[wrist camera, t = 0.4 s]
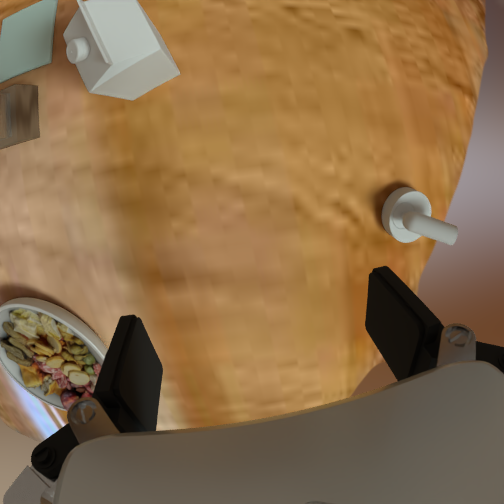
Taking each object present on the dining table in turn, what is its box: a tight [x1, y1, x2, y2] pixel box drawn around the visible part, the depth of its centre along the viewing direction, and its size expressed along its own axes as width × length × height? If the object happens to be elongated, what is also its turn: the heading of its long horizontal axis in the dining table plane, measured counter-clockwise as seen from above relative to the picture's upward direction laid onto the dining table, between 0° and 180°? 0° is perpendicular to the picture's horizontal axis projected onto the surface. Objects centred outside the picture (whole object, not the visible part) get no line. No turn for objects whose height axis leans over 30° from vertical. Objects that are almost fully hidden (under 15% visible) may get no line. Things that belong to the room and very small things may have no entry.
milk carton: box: [63, 0, 180, 100], centre depth 23 cm, size 7×7×19 cm
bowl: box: [0, 297, 108, 411], centre depth 45 cm, size 30×30×8 cm
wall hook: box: [382, 187, 458, 245], centre depth 40 cm, size 9×10×10 cm
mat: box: [0, 0, 58, 83], centre depth 25 cm, size 12×11×1 cm
